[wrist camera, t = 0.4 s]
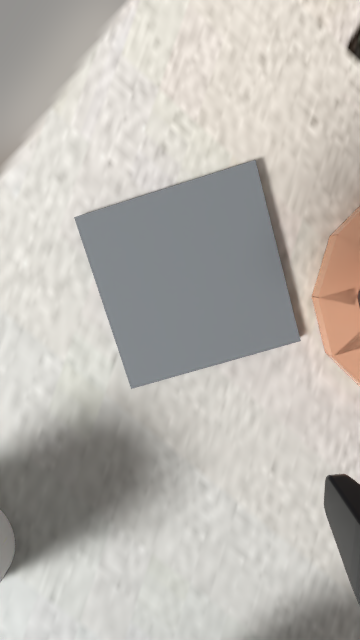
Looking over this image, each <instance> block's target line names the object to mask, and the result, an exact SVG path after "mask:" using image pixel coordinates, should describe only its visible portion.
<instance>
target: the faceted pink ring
mask: <svg viewBox="0 0 360 640" xmlns="http://www.w3.org/2000/svg"><path fill="white" fill-rule="evenodd" d="M359 289H360V206H359V207H358V208H357V209H356V210H355V211H354V212H353V213H352V214H351V215H350V216H349V217H348V218H347V219H346V220H345V221H344V222H343V223H342V224H341V225H340V226H339V227H338V228H337V229H336V230H335V231H334V232H333V233H332V234H331V235H330V237H329V241H328V244H327V247H326V251H325V254H324V257H323V261H322V264H321V267H320V271H319V274H318V277H317V281H316V284H315V287H314V291H313V294H312V296H313V297H312V299H313V303H314V308H315V312H316V316H317V320H318V324H319V328H320V333H321V337H322V341H323V345H324V349H325V352H326V354H327V355H328V356H329V357H330V358H331V359H332V360H333V361H334V362H335V363H336V364H337V365H338V366H339V367H340V368H341V369H343V370H344V371H345V372H346V373H347V374H348V375H349V376H350V377H351V378H352V379H353V380H354V381H355V382H356V383H357V384H358V385H359V386H360V307H359V303H358V298H357V295H358V292H359Z"/></svg>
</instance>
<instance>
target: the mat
mask: <svg viewBox="0 0 360 640" xmlns="http://www.w3.org/2000/svg"><path fill="white" fill-rule="evenodd" d="M74 218H75V221H76V224H77V227H78V230H79V233H80V236H81V239H82V242H83V245H84V248H85V251H86V254H87V257H88V260H89V263H90V266H91V269H92V272H93V275H94V278H95V281H96V284H97V287H98V290H99V293H100V296H101V299H102V302H103V305H104V308H105V311H106V314H107V317H108V320H109V323H110V326H111V329H112V332H113V335H114V338H115V341H116V344H117V347H118V350H119V353H120V356H121V359H122V362H123V365H124V368H125V371H126V374H127V377H128V380H129V383H130V386H131V389H132V388H136V387H139V386H143V385H146V384H150V383H154V382H157V381H161V380H164V379H168V378H171V377H175V376H178V375H182V374H185V373H189V372H192V371H196V370H199V369H203V368H207V367H210V366H214V365H217V364H221V363H224V362H228V361H231V360H235V359H238V358H242V357H245V356H249V355H253V354H256V353H260V352H263V351H267V350H270V349H274V348H277V347H281V346H284V345H288V344H291V343H295V342H299V341H300V337H299V333H298V329H297V325H296V321H295V317H294V313H293V309H292V305H291V301H290V297H289V293H288V289H287V285H286V281H285V277H284V273H283V269H282V265H281V261H280V257H279V253H278V249H277V245H276V241H275V237H274V233H273V229H272V225H271V221H270V217H269V213H268V209H267V205H266V201H265V197H264V193H263V189H262V185H261V181H260V177H259V173H258V169H257V165H256V161H255V160H253V161H250V162H247V163H244V164H241V165H238V166H235V167H231V168H228V169H225V170H222V171H219V172H216V173H212V174H209V175H206V176H203V177H200V178H197V179H194V180H190V181H187V182H184V183H181V184H178V185H175V186H172V187H168V188H165V189H162V190H159V191H156V192H153V193H149V194H146V195H143V196H140V197H137V198H134V199H131V200H127V201H124V202H121V203H118V204H115V205H112V206H108V207H105V208H102V209H99V210H96V211H93V212H90V213H86V214H83V215H80V216H77V217H74Z"/></svg>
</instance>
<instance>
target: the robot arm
mask: <svg viewBox="0 0 360 640" xmlns="http://www.w3.org/2000/svg"><path fill="white" fill-rule="evenodd" d="M324 508H325V512H326V516H327V518H328V521H329V524H330V527H331V530H332V533H333V535H334V538H335V541H336V544H337V547H338V549H339V552H340V555H341V558H342V561H343V564H344V566H345V569H346V572H347V575H348V578H349V581H350V583H351V586H352V589H353V591H354V594H355V596H356V599H357V601H358V603H359V606H360V484H358V483H357V482H356V481H355V480H353V479H352V478H351V477H349V476H348V475H346V474H335V475H328V476H327V477H326V480H325V493H324Z"/></svg>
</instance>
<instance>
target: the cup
mask: <svg viewBox="0 0 360 640" xmlns="http://www.w3.org/2000/svg"><path fill="white" fill-rule="evenodd" d="M14 553H15V536H14V532H13V529H12V527H11V524H10V522H9V520H8V519H7V517H6V516H5V514H4V513H3V512H2V511H1V510H0V582H1V580H2V579H3V577H4V575H5V573H6V572H7V570H8V568H9V567H10V565H11V563H12V560H13V557H14Z"/></svg>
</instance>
